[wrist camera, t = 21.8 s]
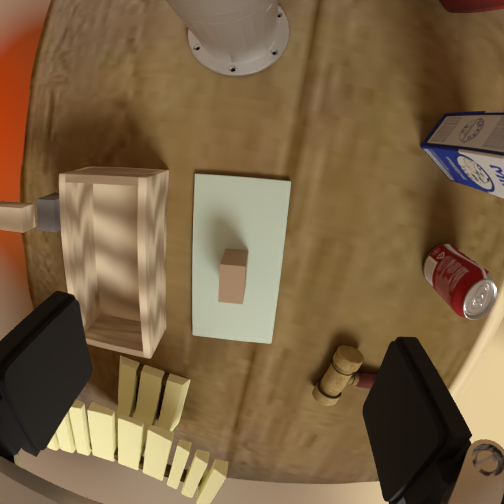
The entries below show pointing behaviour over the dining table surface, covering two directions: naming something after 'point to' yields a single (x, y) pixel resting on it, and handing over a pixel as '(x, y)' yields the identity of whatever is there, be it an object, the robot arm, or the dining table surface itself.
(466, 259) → the soda can
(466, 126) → the milk carton
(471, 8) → the plant pot
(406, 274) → the dining table surface
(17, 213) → the bar
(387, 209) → the dining table surface
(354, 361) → the gavel
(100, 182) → the toolbox
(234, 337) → the lid
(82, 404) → the slatted curved stool
